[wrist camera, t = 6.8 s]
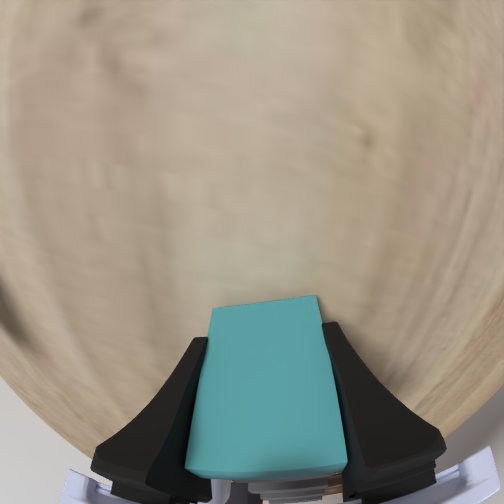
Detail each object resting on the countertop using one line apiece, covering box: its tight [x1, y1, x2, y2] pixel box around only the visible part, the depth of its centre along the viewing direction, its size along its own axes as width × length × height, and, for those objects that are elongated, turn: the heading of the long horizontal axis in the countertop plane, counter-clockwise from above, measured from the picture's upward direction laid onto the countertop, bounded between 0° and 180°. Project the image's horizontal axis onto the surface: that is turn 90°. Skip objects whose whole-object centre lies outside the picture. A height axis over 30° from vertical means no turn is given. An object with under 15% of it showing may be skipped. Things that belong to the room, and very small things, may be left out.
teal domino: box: [185, 295, 348, 480], centre depth 10 cm, size 2×5×8 cm, turn 101°
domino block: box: [248, 477, 328, 494], centre depth 16 cm, size 2×5×8 cm, turn 101°
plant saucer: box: [324, 473, 343, 495], centre depth 40 cm, size 21×21×3 cm
